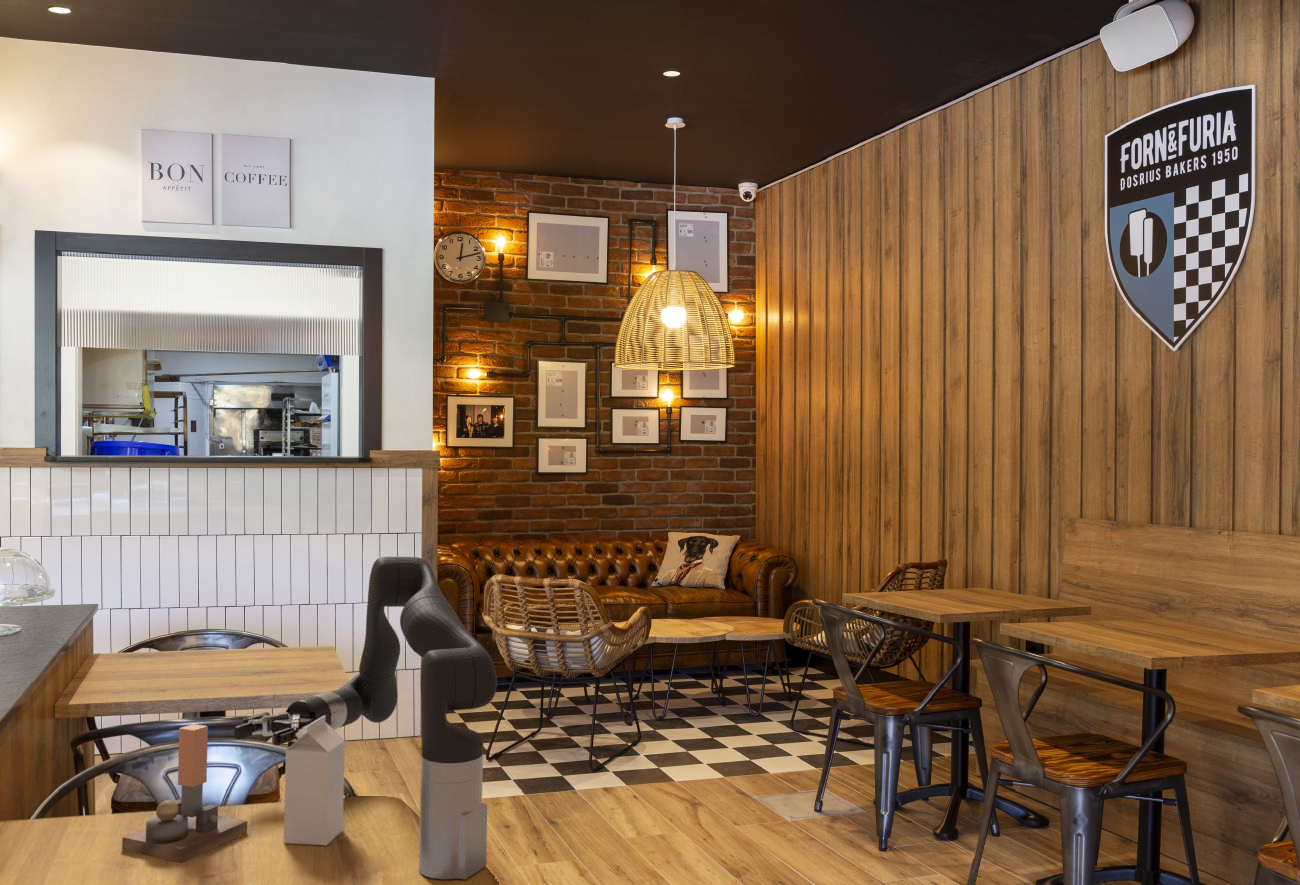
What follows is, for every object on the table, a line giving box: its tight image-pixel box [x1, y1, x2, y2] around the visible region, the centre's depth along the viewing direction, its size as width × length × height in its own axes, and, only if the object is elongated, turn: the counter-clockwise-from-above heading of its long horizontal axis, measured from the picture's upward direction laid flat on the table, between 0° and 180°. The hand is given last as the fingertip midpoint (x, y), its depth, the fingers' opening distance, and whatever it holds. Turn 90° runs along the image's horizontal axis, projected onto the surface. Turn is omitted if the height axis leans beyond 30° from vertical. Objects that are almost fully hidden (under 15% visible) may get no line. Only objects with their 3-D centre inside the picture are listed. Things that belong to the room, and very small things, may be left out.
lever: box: [177, 723, 209, 817], centre depth 175 cm, size 3×3×14 cm
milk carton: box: [283, 715, 346, 846], centre depth 177 cm, size 7×7×19 cm
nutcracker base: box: [121, 798, 248, 863], centre depth 174 cm, size 12×14×8 cm
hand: (255, 736), depth 188 cm, fingers open, 8 cm apart
